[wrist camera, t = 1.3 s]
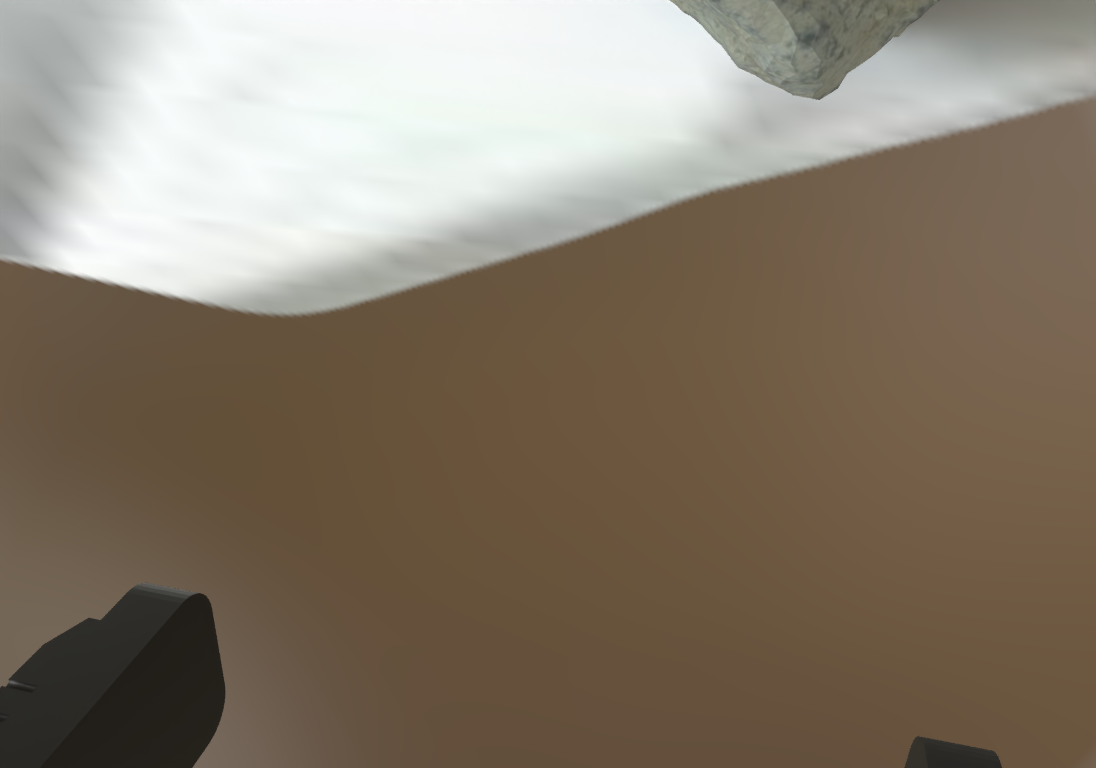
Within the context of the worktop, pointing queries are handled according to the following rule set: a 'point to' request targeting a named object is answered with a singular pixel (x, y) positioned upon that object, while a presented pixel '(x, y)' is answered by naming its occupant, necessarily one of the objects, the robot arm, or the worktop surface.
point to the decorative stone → (803, 36)
